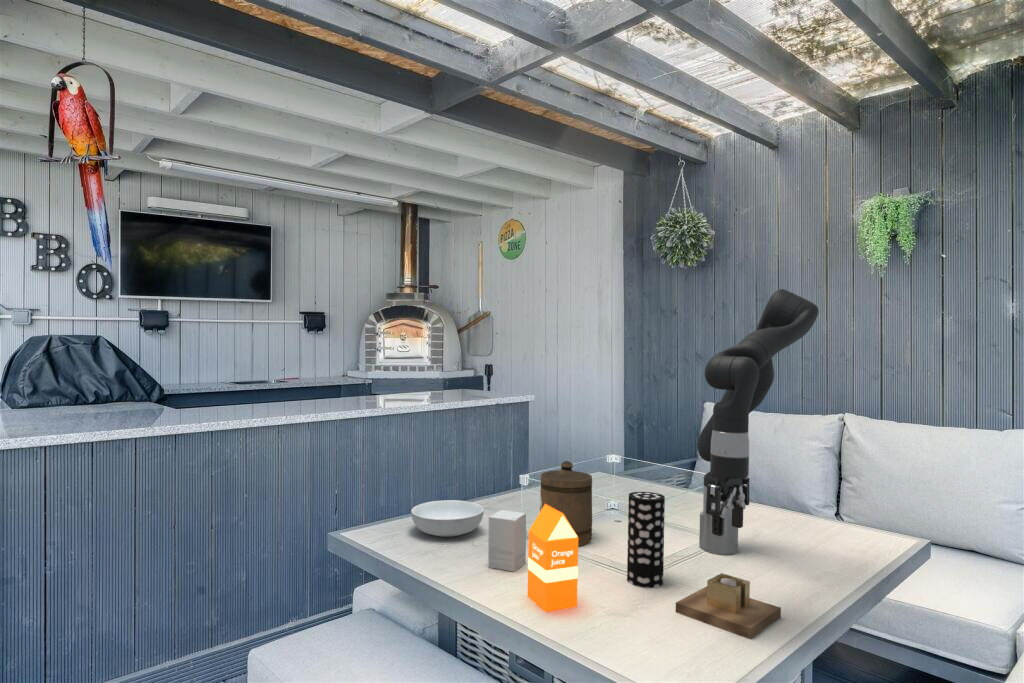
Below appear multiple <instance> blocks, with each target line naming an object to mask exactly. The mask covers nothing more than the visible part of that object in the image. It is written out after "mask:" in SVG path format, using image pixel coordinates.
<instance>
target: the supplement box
mask: <svg viewBox="0 0 1024 683" xmlns="http://www.w3.org/2000/svg"><path fill="white" fill-rule="evenodd" d="M526 545H527V513H525V512H518V511H510V510H503V509H499V510H498V511H496V512H495V513H493V514H491V515H489V516H488V551H487V552H488V560H487V561H488V563H487V564H488V568H490V569H497V570H502V571H508V572H512V573H513V572H516V571H517V570H519V569H520V568H522V566H524V565H525V564H526V561H527V560H526V557H527V555H526V554H527V553H526V552H527V550H526V548H527V546H526Z"/></svg>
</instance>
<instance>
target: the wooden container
mask: <svg viewBox="0 0 1024 683" xmlns="http://www.w3.org/2000/svg"><path fill="white" fill-rule="evenodd" d="M560 467H561V469H559V470H549V471H544V472H542V473H541V474H540V490H539V491H540V496H539V512H540V511H541V510H542V508H543V507H544V505H545V504H547V505H549V506H550V507H552V508H554V509H556V510H558V511H560V512H562V513H563V514H564V516H565V517H566V519H567V520H568V522H569V524H570V525H571V527H572V528H573V530H574V531H575V533H576V535H577V536H578V548H579V547H583V545H584V546H586V545H585V544H587V545H589V544H590V543H591V542H592V541H591V540H593V477H592V475H591V474H589V473H586V472H582V471H577V470H573V467H574V465H573V463H572V462H571V461H568V460H567V461H566V460H565V461H562V462H561V464H560ZM590 541H591V542H590ZM589 542H590V543H589ZM588 543H589V544H588Z"/></svg>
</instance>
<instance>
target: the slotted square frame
mask: <svg viewBox="0 0 1024 683" xmlns="http://www.w3.org/2000/svg"><path fill="white" fill-rule="evenodd" d="M722 578H730V579H733V580H735V581H736V586H734V587H733V586H730V585H726V584H723V583H721V579H722ZM706 583H707V585H706V586H707V605H709V606H712V607H715V608H718V609H721V610H724V611H727V612H730V613H733V614H737V613H739V612H740V605H741V607H742V608H747V607H748V606H749V602H750V598H751V597H750V596H751V595H750V594H751V592H750V591H751V590H750V589H751V581H750V580H745V579H744V578H739V577H736V576H733V575H729V574H726V573H722V572H721V573H719V574H717V575H715V576H714V577H711V578H709V579H708V580H706Z"/></svg>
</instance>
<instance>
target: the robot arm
mask: <svg viewBox="0 0 1024 683" xmlns="http://www.w3.org/2000/svg"><path fill="white" fill-rule="evenodd" d="M818 315H819V307H818V305H816V304H815V303H814V302H812V301H810V300H808V299H806V298H804V297H802V296H800V295H798V294H795V293H793V292H791V291H788V290H787V289H784V288H780V289H777V290H775V292H774V293H772V295H771V296H770V297H769V300H768V302H767V303H766V305H765V307H764V309H763V312H762V313H761V315H760V319H759V321H758V323H757V326H756V328H755V330H753V331H752V332H750V333H749V334H747V335H746V336H745V337H744V338H742V339H741V341H739V342H738V343H737V344H736V345H734V346H731V347H728V348H726V349H724V350H722V351H720V352H718V353H715V355H713V356H712V357H711V358H710V359H709V360H708V362H707V363H706V365H705V369H704V379H705V381H706V383H707V384H708V386H710V387H712V388H713V389H716V390H724V391H725V392H724V394H723V396H722V398H721V399H720V401H718V402H716V403H714V405H713V409H712V415H711V417H710V418H709V419H708V421H707V422H706V424H705V425H704V427H703V428H702V430H701V432H700V434H699V436H698V440H697V445H696V446H697V448H696V449H697V452H698V456H700V458H701V459H702V460H703V461H706V462H708V463H710V465H709V466H710V467H709V468H710V471H708V472H707V473H705V474H704V476H703V490H702V492H703V494H702V495H703V497H702V500H703V501H702V502H703V503H702V504H703V506H702V510H703V511H702V512H700V513H699V535H698V536H699V539H698V541H699V545H698V546H699V548H700V549H702V550H704V551H706V552H709V553H712V554H716V555H727V556H728V555H729V556H730V555H735V554H737V553H738V552H739V529H741V528H744V527H743V526H744V511H745V510H746V506H749V505H750V477H749V474H750V473H749V470H750V469H749V468H750V439H749V420H750V417H749V414H751V413H752V412H753V411H755V410H756V409H757V407H758V406H760V405H761V403H762V402H763V401H764V400H765V397H766V396H767V394H768V392H769V391H770V389H771V386H772V385H773V382H774V380H775V379H774V378H775V371H774V364H773V357H774V356H776V355H777V354H778V353H780V352H781V351H782V350H784V349H786V348H787V347H790V346H791V345H792V344H794V343H796V342H797V341H799V340H800V339H802V338H803V337H804V336H806V335H807V334H808V332H809V331H810V330H811V329H812V328H813V326H814V324H815V323H816V321H817V318H818Z"/></svg>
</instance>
